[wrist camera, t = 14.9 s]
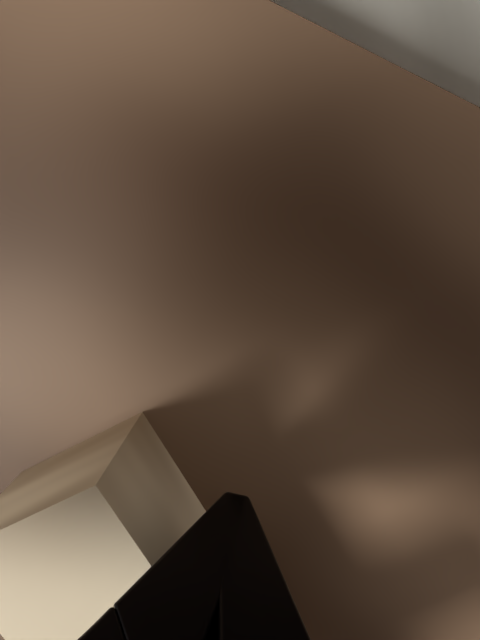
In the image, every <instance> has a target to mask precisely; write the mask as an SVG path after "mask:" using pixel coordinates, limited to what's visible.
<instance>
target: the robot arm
mask: <svg viewBox="0 0 480 640" xmlns="http://www.w3.org/2000/svg"><path fill="white" fill-rule="evenodd" d="M77 640H311V639H310V636H309V634H308V632H307V630H306V627H305V625H304V623H303V620H302V618H301V616H300V613H299V611H298V609H297V606H296V604H295V602H294V600H293V597H292V595H291V593H290V590H289V588H288V586H287V583H286V581H285V579H284V577H283V574H282V572H281V570H280V567H279V565H278V563H277V560H276V558H275V556H274V553H273V551H272V549H271V547H270V544H269V542H268V540H267V537H266V535H265V533H264V530H263V528H262V526H261V524H260V521H259V519H258V517H257V514H256V512H255V510H254V507H253V505H252V503H251V500H250V498H249V497H248V496H245V495H241V494H236V493H232V492H226V493H224V494H223V495H222V496H221V497H220V498H219V499H218V500H217V501H216V502H215V503H214V504H213V505H212V506H211V507H210V508H209V509H208V510H207V511H206V512H205V513H204V514H203V515H202V516H201V517H200V518H199V519H198V520H197V521H196V522H195V523H194V524H193V525H192V526H191V527H190V528H189V529H188V530H187V531H186V532H185V533H184V534H183V535H182V536H181V537H180V538H179V539H178V540H177V541H176V542H175V543H174V544H173V545H172V546H171V547H170V548H169V549H168V550H167V551H166V552H165V553H164V554H163V555H162V556H161V557H160V558H159V559H158V560H157V561H156V562H155V563H154V564H153V565H152V566H151V567H150V568H149V569H148V570H147V571H146V572H145V573H144V574H143V575H142V576H141V577H140V578H139V579H138V580H137V581H136V582H135V583H134V584H133V585H132V586H131V587H130V588H129V589H128V590H127V591H126V592H125V593H124V594H123V595H122V596H121V597H120V598H119V599H118V600H117V601H116V602H115V604H114V606H113V607H111V608H109V609H108V610H107V611H106V612H105V613H104V614H103V615H102V616H101V617H100V618H99V619H98V620H97V621H96V622H95V623H94V624H93V625H92V626H91V627H90V628H89V629H88V630H87V631H86V632H85V633H84V634H83V635H82V636H81V637H80V638H78V639H77Z"/></svg>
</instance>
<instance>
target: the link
mask: <svg viewBox="0 0 480 640" xmlns="http://www.w3.org/2000/svg"><path fill="white" fill-rule="evenodd" d="M205 512H206V511H205V509H204V507H203V506H202V504H201V503H200V501H199V500H198V498H197V496H196V495H195V493H194V492H193V490H192V489H191V487H190V486H189V484H188V482H187V481H186V479H185V478H184V476H183V475H182V473H181V471H180V470H179V468H178V467H177V465H176V464H175V462H174V461H173V459H172V457H171V456H170V454H169V453H168V451H167V450H166V448H165V446H164V445H163V443H162V442H161V440H160V439H159V437H158V436H157V434H156V432H155V431H154V429H153V428H152V426H151V425H150V423H149V421H148V420H147V418H146V417H145V415H144V414H143V412H141V413H139V414H137V415H135V416H133V417H131V418H129V419H127V420H125V421H123V422H121V423H119V424H117V425H115V426H113V427H111V428H109V429H107V430H105V431H103V432H101V433H99V434H97V435H95V436H93V437H91V438H89V439H87V440H85V441H83V442H81V443H79V444H77V445H75V446H73V447H71V448H69V449H67V450H65V451H63V452H61V453H59V454H57V455H55V456H53V457H51V458H49V459H47V460H45V461H42V462H40V463H38V464H36V465H34V466H32V467H30V468H28V469H26V470H24V471H22V472H21V473H20V474H19V475H18V476H17V477H16V478H15V479H14V480H13V481H12V483H11V484H10V485H9V486H8V487H7V488H6V489H5V490H4V491H3V492H2V493H1V494H0V634H1V636H2V637H3V638H4V639H5V640H77V639H78V638H80V637H81V636H82V635H83V634H84V633H85V632H86V631H87V630H88V629H89V628H90V627H91V626H92V625H93V624H94V623H95V622H96V621H97V620H98V619H99V618H100V617H101V616H102V615H103V614H104V613H105V612H106V611H107V610H108V609H109V608H111V607H113V606H114V604H115V602H116V601H117V600H118V599H119V598H120V597H121V596H122V595H123V594H124V593H125V592H126V591H127V590H128V589H129V588H130V587H131V586H132V585H133V584H134V583H135V582H136V581H137V580H138V579H139V578H140V577H141V576H142V575H143V574H144V573H145V572H146V571H147V570H148V569H149V568H150V567H151V566H152V565H153V564H154V563H155V562H156V561H157V560H158V559H159V558H160V557H161V556H162V555H163V554H164V553H165V552H166V551H167V550H168V549H169V548H170V547H171V546H172V545H173V544H174V543H175V542H176V541H177V540H178V539H179V538H180V537H181V536H182V535H183V534H184V533H185V532H186V531H187V530H188V529H189V528H190V527H191V526H192V525H193V524H194V523H195V522H196V521H197V520H198V519H199V518H200V517H201V516H202V515H203V514H204V513H205Z"/></svg>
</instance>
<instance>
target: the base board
mask: <svg viewBox="0 0 480 640" xmlns="http://www.w3.org/2000/svg"><path fill="white" fill-rule="evenodd" d="M141 412H143V414H144V415H145V417H146V418H147V420H148V421H149V423H150V425H151V426H152V428H153V429H154V431H155V432H156V434H157V436H158V437H159V439H160V440H161V442H162V443H163V445H164V446H165V448H166V450H167V451H168V453H169V454H170V456H171V457H172V459H173V461H174V462H175V464H176V465H177V467H178V468H179V470H180V471H181V473H182V475H183V476H184V478H185V479H186V481H187V482H188V484H189V486H190V487H191V489H192V490H193V492H194V493H195V495H196V496H197V498H198V500H199V501H200V503H201V504H202V506H203V507H204V509H205V511H207V510H208V509H209V508H210V507H211V506H212V505H213V504H214V503H215V502H216V501H217V500H218V499H219V498H220V497H221V496H222V495H223V494H224V493H226V492H232V493H236V494H241V495H245V496H248V497H249V498H250V500H251V503H252V505H253V507H254V510H255V512H256V514H257V517H258V519H259V521H260V524H261V526H262V528H263V530H264V533H265V535H266V537H267V540H268V542H269V544H270V547H271V549H272V551H273V553H274V556H275V558H276V560H277V563H278V565H279V567H280V570H281V572H282V574H283V577H284V579H285V581H286V583H287V586H288V588H289V590H290V593H291V595H292V597H293V600H294V602H295V604H296V606H297V609H298V611H299V613H300V616H301V618H302V620H303V623H304V625H305V627H306V630H307V632H308V634H309V636H310V639H311V640H480V107H478V106H476V105H474V104H472V103H470V102H468V101H466V100H464V99H462V98H460V97H458V96H456V95H454V94H452V93H450V92H448V91H446V90H444V89H442V88H441V87H439V86H437V85H435V84H433V83H431V82H429V81H427V80H425V79H423V78H421V77H419V76H417V75H415V74H413V73H411V72H409V71H407V70H405V69H403V68H401V67H399V66H397V65H395V64H393V63H391V62H389V61H387V60H385V59H384V58H382V57H380V56H378V55H376V54H374V53H372V52H370V51H368V50H366V49H364V48H362V47H360V46H358V45H356V44H354V43H352V42H350V41H348V40H346V39H344V38H342V37H340V36H338V35H336V34H334V33H332V32H330V31H328V30H327V29H325V28H323V27H321V26H319V25H317V24H315V23H313V22H311V21H309V20H307V19H305V18H303V17H301V16H299V15H297V14H295V13H293V12H291V11H289V10H287V9H285V8H283V7H281V6H279V5H277V4H275V3H273V2H272V1H270V0H0V494H1V493H2V492H3V491H4V490H5V489H6V488H7V487H8V486H9V485H10V484H11V483H12V481H13V480H14V479H15V478H16V477H17V476H18V475H19V474H20V473H21V472H22V471H24V470H26V469H28V468H30V467H32V466H34V465H36V464H38V463H40V462H42V461H45V460H47V459H49V458H51V457H53V456H55V455H57V454H59V453H61V452H63V451H65V450H67V449H69V448H71V447H73V446H75V445H77V444H79V443H81V442H83V441H85V440H87V439H89V438H91V437H93V436H95V435H97V434H99V433H101V432H103V431H105V430H107V429H109V428H111V427H113V426H115V425H117V424H119V423H121V422H123V421H125V420H127V419H129V418H131V417H133V416H135V415H137V414H139V413H141ZM0 640H5V639H4V638H3V637H2V636H1V634H0Z"/></svg>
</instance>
